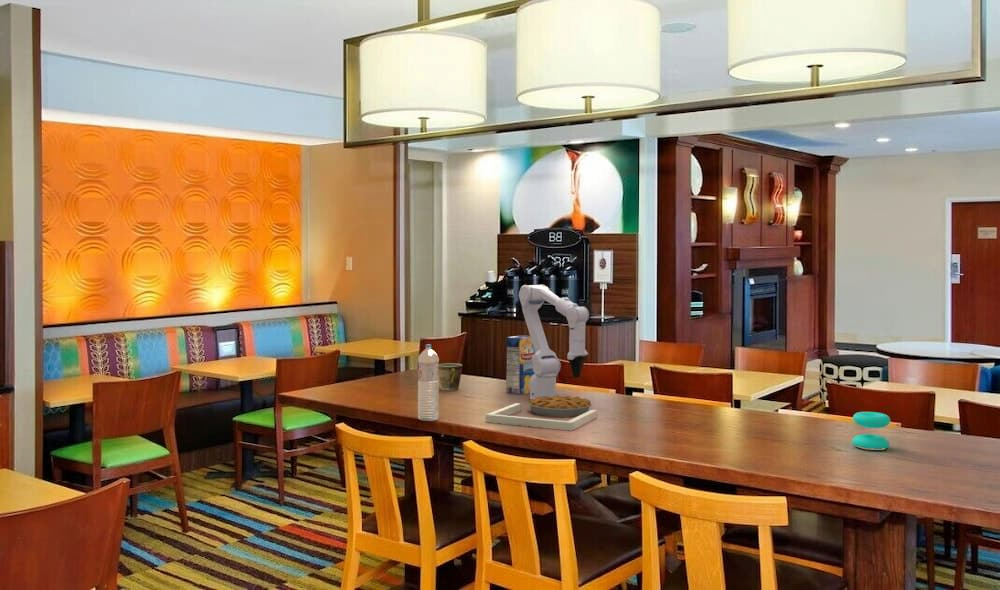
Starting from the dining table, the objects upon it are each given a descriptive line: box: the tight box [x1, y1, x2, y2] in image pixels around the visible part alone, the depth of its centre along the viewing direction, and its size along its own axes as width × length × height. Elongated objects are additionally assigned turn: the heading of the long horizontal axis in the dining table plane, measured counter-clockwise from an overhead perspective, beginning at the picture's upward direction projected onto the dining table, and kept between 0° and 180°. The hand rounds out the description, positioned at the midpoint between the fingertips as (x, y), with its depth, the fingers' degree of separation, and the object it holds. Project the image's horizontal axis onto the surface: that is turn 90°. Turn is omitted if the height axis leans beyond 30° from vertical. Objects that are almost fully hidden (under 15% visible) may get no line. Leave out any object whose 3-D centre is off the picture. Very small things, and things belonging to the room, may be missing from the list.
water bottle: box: [417, 343, 440, 422], centre depth 297 cm, size 7×7×25 cm
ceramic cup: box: [438, 362, 463, 392], centre depth 358 cm, size 13×10×10 cm
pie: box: [527, 395, 593, 418], centre depth 313 cm, size 22×22×5 cm
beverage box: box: [505, 334, 536, 395], centre depth 355 cm, size 7×11×22 cm, turn 139°
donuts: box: [851, 411, 891, 449], centre depth 260 cm, size 10×10×10 cm
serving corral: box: [485, 402, 598, 432], centre depth 299 cm, size 30×24×2 cm
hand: (576, 377), depth 326 cm, fingers closed
